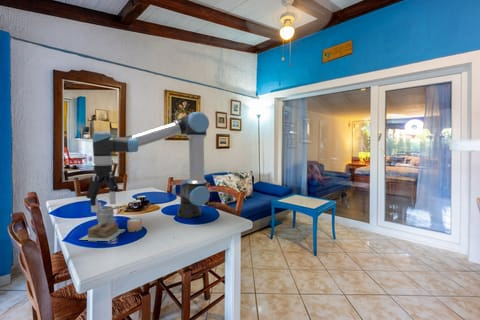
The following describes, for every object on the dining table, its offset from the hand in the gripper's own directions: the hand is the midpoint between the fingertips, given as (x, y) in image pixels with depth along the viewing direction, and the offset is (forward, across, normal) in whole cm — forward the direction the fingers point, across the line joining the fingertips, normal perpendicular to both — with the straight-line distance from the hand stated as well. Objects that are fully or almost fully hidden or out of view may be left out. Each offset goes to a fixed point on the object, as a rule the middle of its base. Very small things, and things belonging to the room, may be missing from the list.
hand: (104, 207), depth 108 cm
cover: (+13, 0, 0) cm, 13 cm away
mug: (+14, -14, -10) cm, 22 cm away
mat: (+14, 0, 0) cm, 14 cm away
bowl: (+14, -9, +10) cm, 20 cm away
